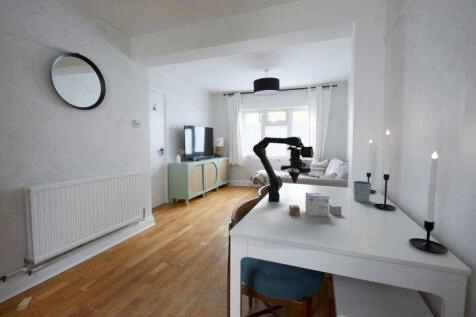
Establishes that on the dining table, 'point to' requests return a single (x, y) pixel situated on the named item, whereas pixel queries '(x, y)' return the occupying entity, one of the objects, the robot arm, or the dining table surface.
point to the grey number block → (335, 209)
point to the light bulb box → (317, 204)
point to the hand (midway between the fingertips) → (294, 182)
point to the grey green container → (362, 191)
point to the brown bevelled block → (294, 210)
